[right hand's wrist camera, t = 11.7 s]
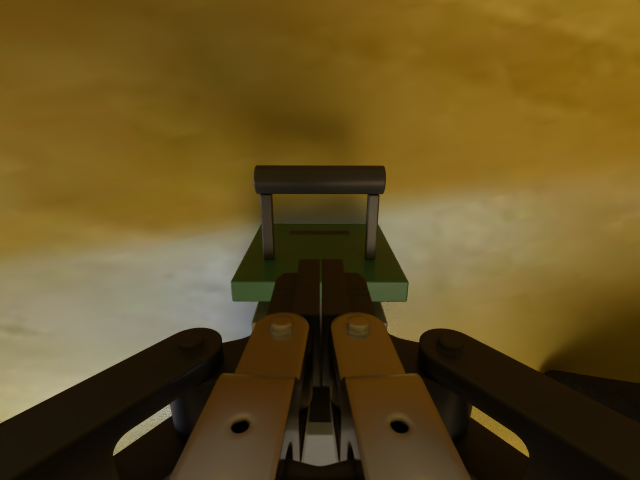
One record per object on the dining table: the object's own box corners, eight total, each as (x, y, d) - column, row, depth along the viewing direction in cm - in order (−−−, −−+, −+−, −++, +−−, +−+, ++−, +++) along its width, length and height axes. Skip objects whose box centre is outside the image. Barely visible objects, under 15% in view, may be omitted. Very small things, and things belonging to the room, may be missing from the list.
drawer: (256, 152, 25) (219, 175, 16) (383, 152, 25) (420, 175, 16) (270, 385, 33) (250, 493, 23) (368, 385, 33) (387, 494, 23)
